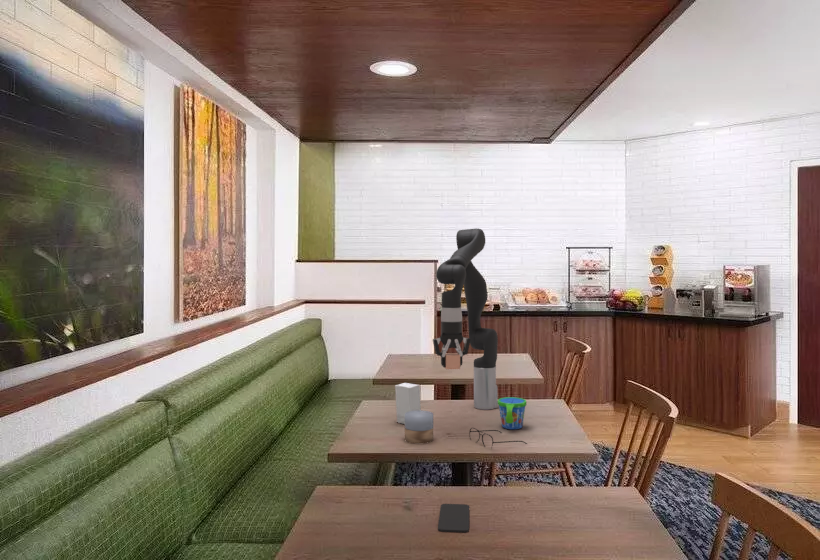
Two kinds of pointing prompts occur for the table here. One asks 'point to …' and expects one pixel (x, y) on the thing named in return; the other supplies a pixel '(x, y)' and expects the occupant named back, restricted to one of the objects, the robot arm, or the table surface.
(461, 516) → the phone
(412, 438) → the disc
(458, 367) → the terracotta cube
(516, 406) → the snack cup
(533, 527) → the table surface
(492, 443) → the glasses
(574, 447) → the table surface
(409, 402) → the skincare box
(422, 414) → the slate top puck
